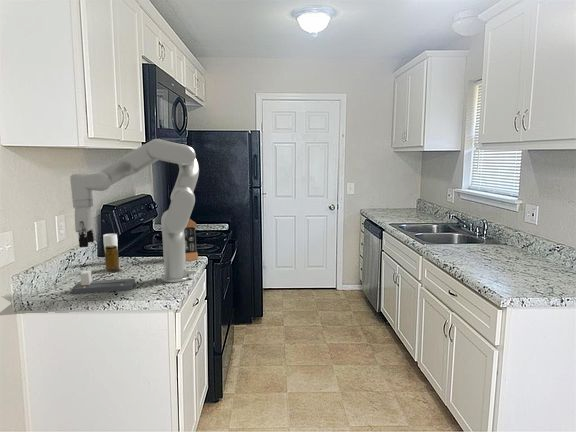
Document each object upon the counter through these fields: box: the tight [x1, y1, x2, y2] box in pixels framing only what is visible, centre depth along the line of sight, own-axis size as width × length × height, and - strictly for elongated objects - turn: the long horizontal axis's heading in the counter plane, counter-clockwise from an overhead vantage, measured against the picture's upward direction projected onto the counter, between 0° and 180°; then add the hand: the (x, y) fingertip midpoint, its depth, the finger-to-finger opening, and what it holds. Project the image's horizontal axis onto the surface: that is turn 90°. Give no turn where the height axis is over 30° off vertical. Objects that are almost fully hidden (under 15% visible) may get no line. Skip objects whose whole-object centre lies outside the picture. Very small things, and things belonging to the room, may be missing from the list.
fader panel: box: [70, 278, 136, 295], centre depth 176 cm, size 23×10×2 cm, turn 102°
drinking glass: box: [102, 233, 119, 253], centre depth 216 cm, size 7×7×15 cm
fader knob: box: [79, 270, 93, 286], centre depth 174 cm, size 3×4×5 cm
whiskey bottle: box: [184, 217, 199, 261], centre depth 224 cm, size 10×10×32 cm
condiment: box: [103, 245, 126, 273], centre depth 203 cm, size 7×8×12 cm
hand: (86, 244), depth 174 cm, fingers open, 9 cm apart
